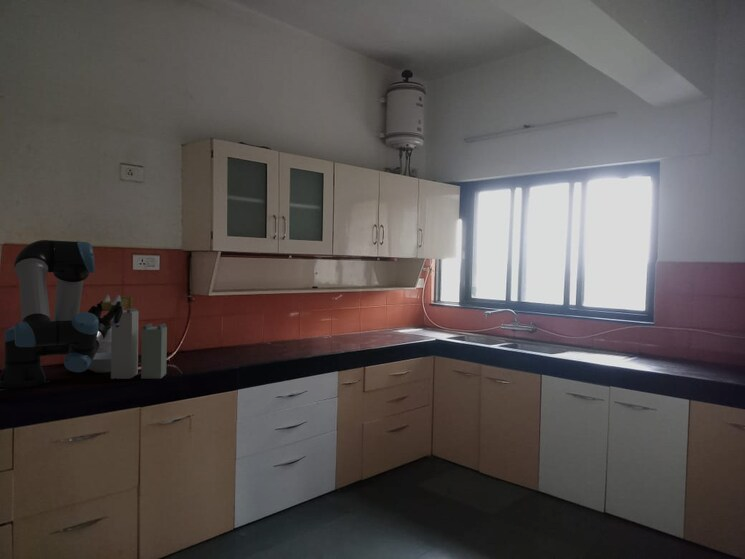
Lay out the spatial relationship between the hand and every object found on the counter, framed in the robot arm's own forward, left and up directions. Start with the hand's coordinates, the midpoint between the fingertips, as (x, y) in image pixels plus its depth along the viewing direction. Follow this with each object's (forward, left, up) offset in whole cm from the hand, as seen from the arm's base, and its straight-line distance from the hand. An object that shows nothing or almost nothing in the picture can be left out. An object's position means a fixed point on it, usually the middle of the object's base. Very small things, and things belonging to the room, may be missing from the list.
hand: (114, 297), depth 193 cm
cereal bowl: (-14, +32, -36) cm, 50 cm away
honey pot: (-16, +47, -36) cm, 61 cm away
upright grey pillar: (+10, +21, -36) cm, 43 cm away
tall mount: (-2, +21, -36) cm, 42 cm away
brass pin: (0, +4, -5) cm, 6 cm away
